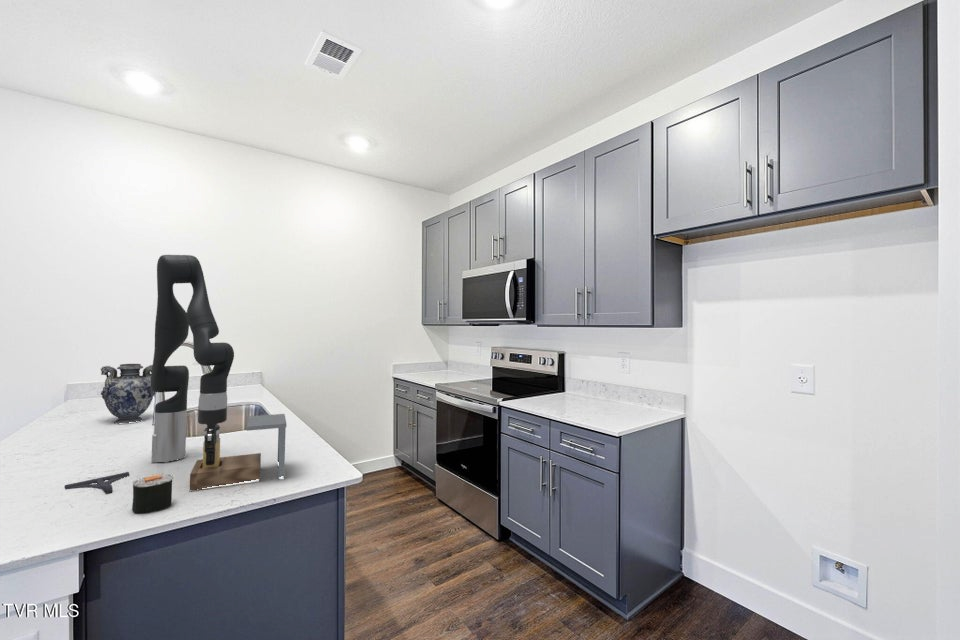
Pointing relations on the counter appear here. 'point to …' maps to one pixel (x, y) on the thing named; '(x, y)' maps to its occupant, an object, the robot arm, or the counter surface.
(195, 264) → the robot arm
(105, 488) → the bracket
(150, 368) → the decorative vase
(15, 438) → the counter surface
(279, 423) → the panel
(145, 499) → the sushi
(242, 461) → the socket block
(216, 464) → the peg
